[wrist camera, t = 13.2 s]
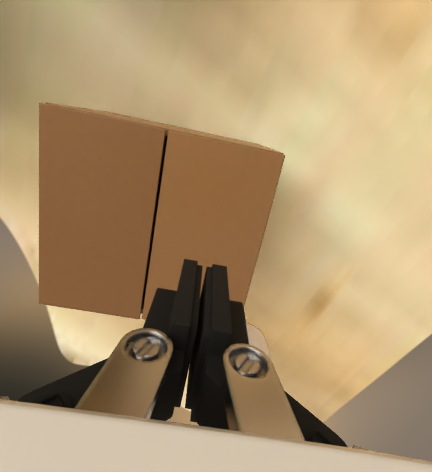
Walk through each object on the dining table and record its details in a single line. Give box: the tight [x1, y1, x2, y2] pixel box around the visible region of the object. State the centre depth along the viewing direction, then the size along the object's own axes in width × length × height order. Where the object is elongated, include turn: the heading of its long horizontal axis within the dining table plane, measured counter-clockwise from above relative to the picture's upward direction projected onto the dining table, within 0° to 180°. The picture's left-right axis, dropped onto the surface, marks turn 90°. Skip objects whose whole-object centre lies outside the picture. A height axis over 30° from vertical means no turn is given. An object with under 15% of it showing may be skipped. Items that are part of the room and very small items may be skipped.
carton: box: [39, 103, 284, 319], centre depth 22 cm, size 13×12×10 cm
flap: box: [142, 130, 285, 319], centre depth 18 cm, size 6×12×1 cm, turn 169°
